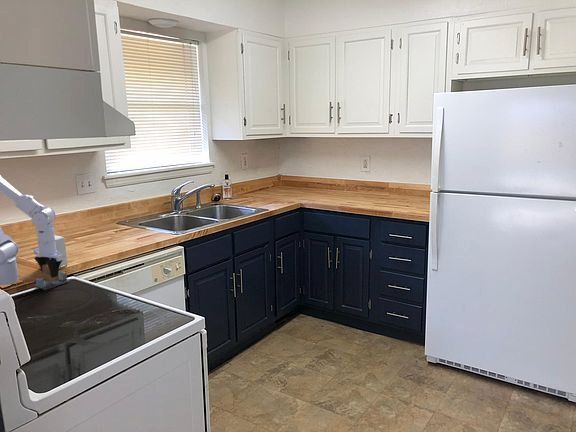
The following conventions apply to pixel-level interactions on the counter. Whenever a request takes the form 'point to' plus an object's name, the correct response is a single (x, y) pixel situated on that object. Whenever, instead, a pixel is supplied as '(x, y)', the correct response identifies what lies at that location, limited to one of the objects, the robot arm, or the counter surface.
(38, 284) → the vise jaw
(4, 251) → the robot arm
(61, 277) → the vise frame
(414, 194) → the counter surface
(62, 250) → the supplement box
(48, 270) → the walnut block
